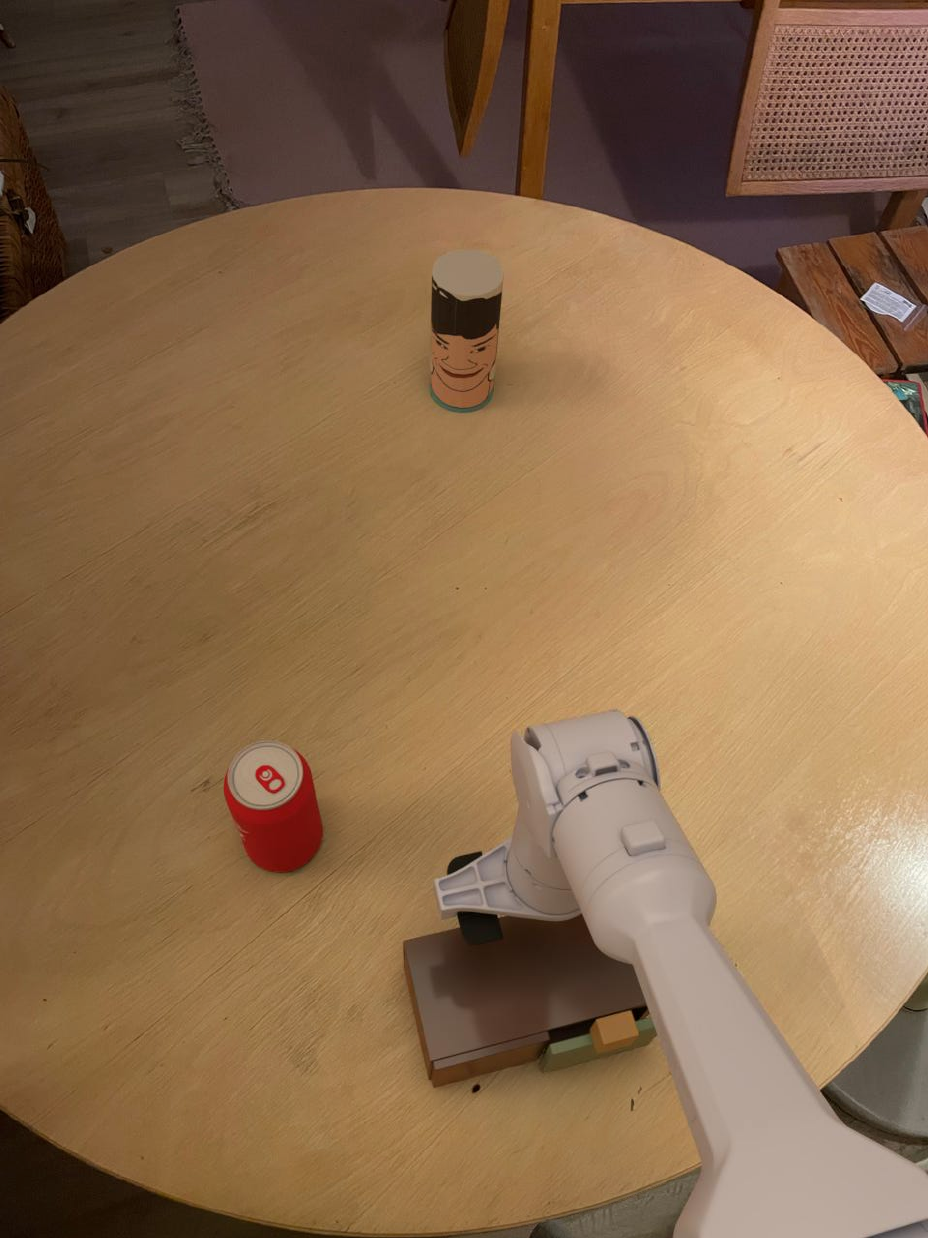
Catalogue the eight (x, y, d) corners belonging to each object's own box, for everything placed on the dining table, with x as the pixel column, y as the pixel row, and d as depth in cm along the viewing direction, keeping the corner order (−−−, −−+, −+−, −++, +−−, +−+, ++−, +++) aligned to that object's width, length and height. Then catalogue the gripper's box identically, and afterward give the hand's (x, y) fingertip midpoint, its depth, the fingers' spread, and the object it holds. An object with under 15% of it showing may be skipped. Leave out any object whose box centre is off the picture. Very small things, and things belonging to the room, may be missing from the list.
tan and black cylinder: (416, 392, 109) (417, 275, 97) (454, 358, 112) (460, 239, 100) (468, 422, 107) (475, 305, 95) (505, 385, 110) (517, 268, 98)
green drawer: (651, 1054, 74) (681, 1024, 66) (544, 1083, 72) (561, 1056, 64) (644, 1031, 75) (672, 998, 67) (538, 1060, 73) (553, 1030, 65)
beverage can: (289, 785, 84) (272, 716, 74) (339, 838, 82) (329, 774, 72) (227, 836, 82) (201, 771, 72) (277, 892, 79) (257, 833, 69)
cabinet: (645, 1030, 75) (664, 1009, 69) (430, 1089, 72) (432, 1071, 67) (607, 915, 79) (622, 887, 74) (403, 966, 77) (402, 941, 71)
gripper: (657, 754, 63) (619, 838, 74) (423, 804, 60) (421, 882, 72) (699, 863, 59) (653, 934, 70) (451, 921, 57) (445, 985, 68)
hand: (538, 915), depth 71 cm, fingers open, 7 cm apart
